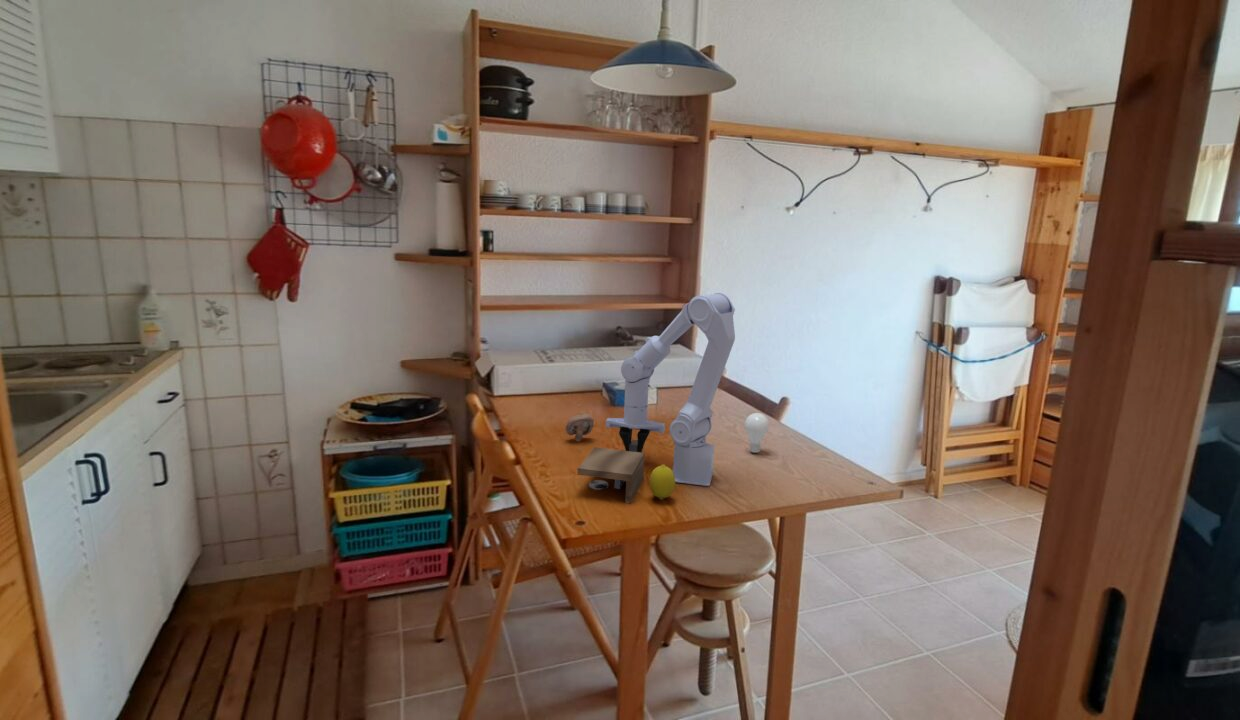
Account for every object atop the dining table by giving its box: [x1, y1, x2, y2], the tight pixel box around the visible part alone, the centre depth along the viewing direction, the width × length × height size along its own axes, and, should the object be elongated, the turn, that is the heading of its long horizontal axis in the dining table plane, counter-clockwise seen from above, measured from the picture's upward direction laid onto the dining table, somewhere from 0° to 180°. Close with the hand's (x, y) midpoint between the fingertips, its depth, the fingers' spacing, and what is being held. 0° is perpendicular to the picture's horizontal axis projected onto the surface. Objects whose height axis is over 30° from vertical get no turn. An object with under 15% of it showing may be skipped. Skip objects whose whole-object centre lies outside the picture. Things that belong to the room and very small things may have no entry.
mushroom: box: [565, 413, 595, 442], centre depth 174 cm, size 8×6×8 cm
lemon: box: [649, 464, 676, 501], centre depth 139 cm, size 6×6×8 cm
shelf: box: [577, 446, 645, 504], centre depth 144 cm, size 12×14×6 cm
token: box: [588, 479, 609, 491], centre depth 146 cm, size 4×4×1 cm
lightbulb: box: [744, 412, 770, 454], centre depth 170 cm, size 6×6×11 cm
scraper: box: [614, 439, 638, 490], centre depth 153 cm, size 2×20×5 cm, turn 167°
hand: (633, 456), depth 161 cm, fingers closed on scraper, 2 cm apart
